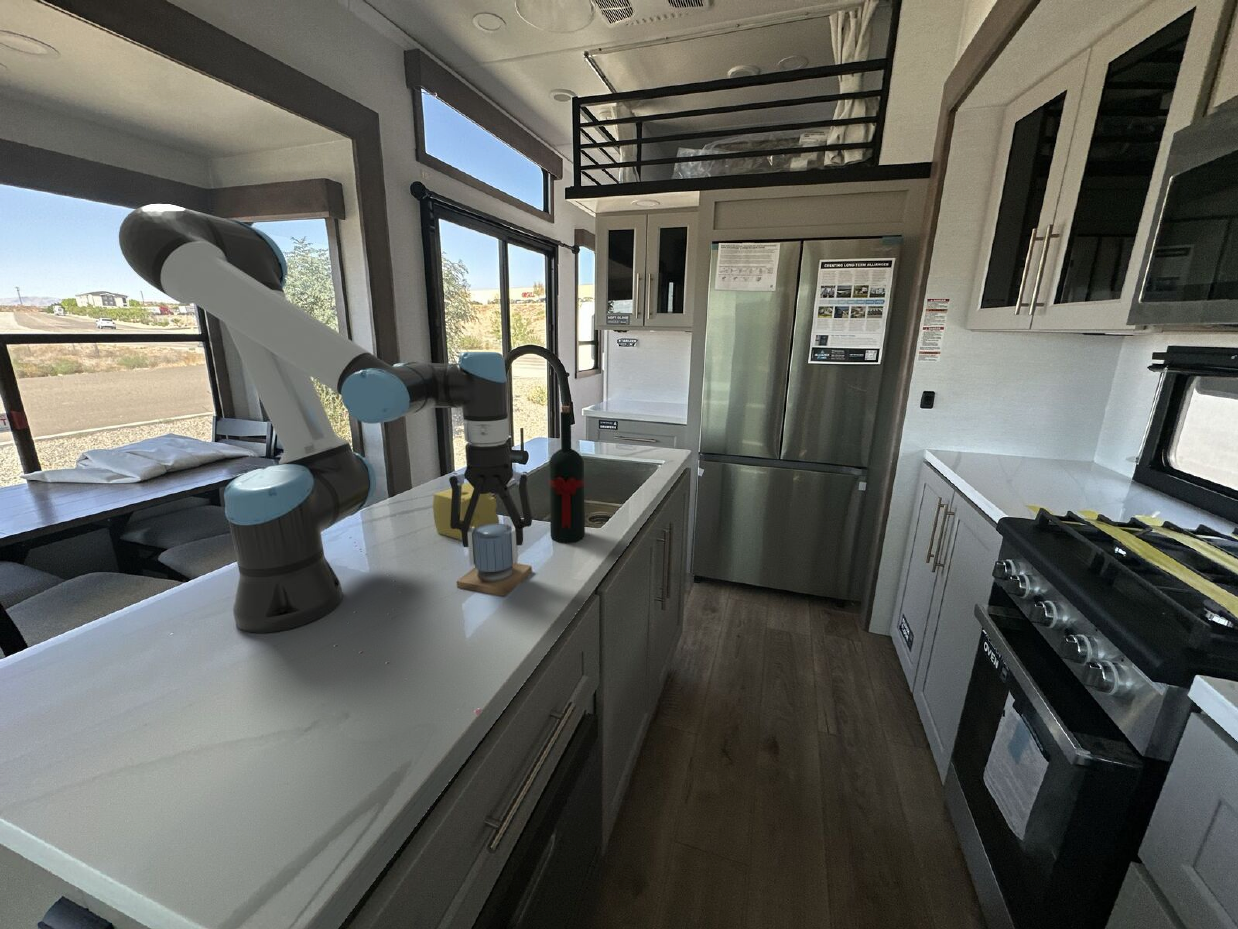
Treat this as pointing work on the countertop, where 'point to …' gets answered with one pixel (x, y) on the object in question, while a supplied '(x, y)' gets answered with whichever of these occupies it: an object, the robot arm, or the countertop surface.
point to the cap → (492, 547)
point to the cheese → (463, 510)
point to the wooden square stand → (495, 579)
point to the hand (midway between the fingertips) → (494, 561)
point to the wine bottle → (566, 488)
